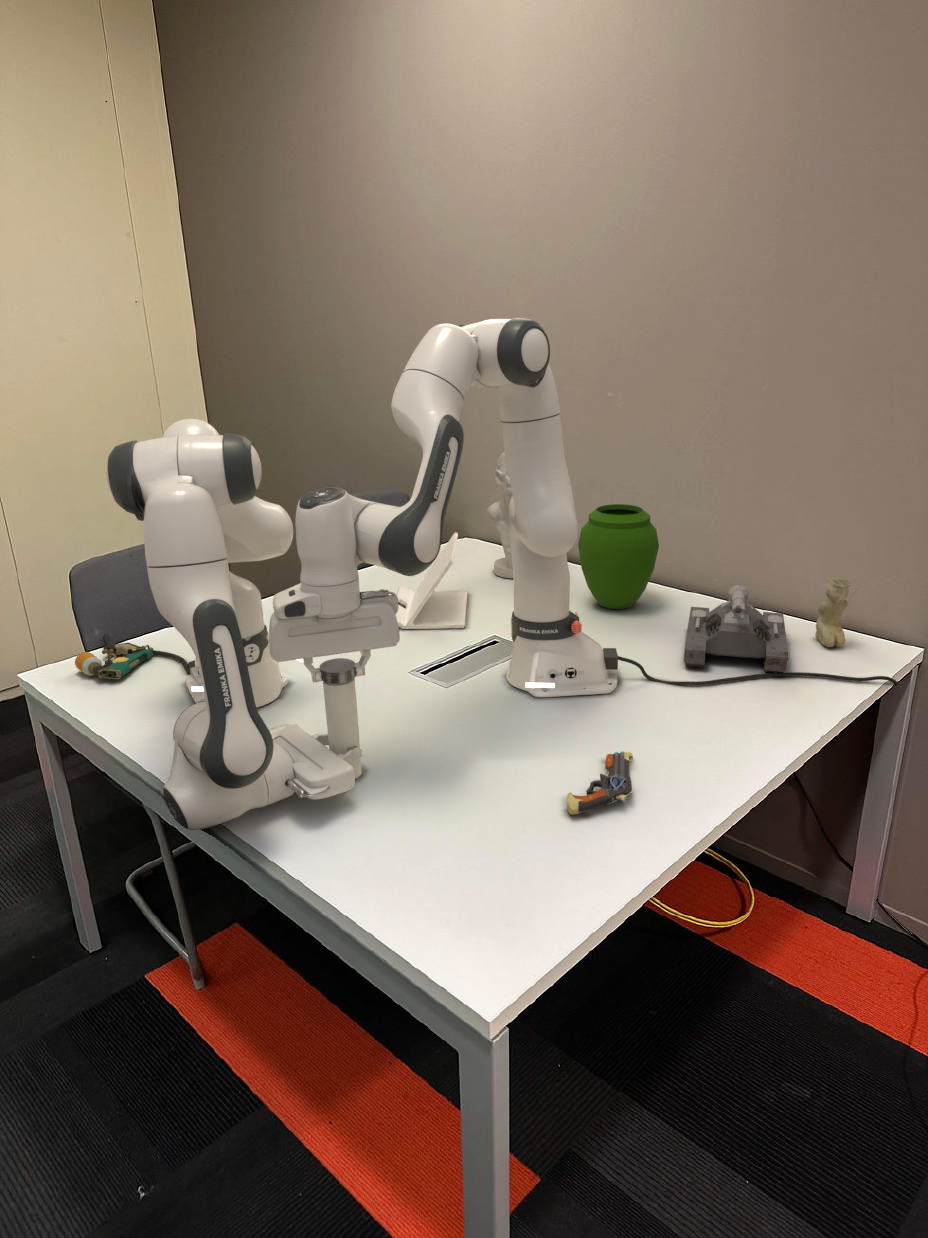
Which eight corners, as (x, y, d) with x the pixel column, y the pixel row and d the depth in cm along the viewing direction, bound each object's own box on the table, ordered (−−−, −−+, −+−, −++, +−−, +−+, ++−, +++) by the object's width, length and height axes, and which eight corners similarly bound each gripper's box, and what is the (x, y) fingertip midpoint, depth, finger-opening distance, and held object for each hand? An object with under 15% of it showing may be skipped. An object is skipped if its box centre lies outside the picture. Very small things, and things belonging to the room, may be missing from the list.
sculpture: (821, 649, 184) (830, 583, 179) (808, 637, 191) (816, 573, 185) (848, 649, 184) (858, 582, 179) (834, 636, 191) (843, 572, 185)
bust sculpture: (503, 593, 225) (502, 460, 212) (483, 567, 247) (480, 445, 234) (562, 587, 228) (563, 456, 215) (536, 562, 250) (536, 441, 237)
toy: (689, 626, 199) (693, 565, 193) (780, 633, 193) (787, 570, 188) (682, 670, 176) (687, 601, 171) (785, 679, 170) (794, 609, 165)
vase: (599, 587, 227) (601, 497, 218) (668, 600, 216) (673, 505, 208) (562, 608, 212) (564, 513, 204) (634, 623, 202) (639, 523, 193)
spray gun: (121, 650, 196) (171, 662, 191) (61, 674, 182) (113, 688, 176) (119, 633, 195) (170, 644, 189) (59, 656, 181) (111, 668, 175)
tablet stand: (467, 593, 225) (465, 531, 219) (465, 628, 202) (462, 559, 196) (399, 594, 226) (395, 532, 220) (388, 629, 203) (384, 560, 197)
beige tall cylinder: (339, 763, 145) (330, 661, 138) (366, 767, 143) (358, 664, 137) (326, 779, 140) (316, 674, 134) (354, 783, 139) (345, 677, 132)
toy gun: (564, 803, 127) (632, 801, 125) (572, 748, 145) (632, 746, 143) (566, 820, 128) (634, 818, 125) (574, 763, 145) (633, 761, 143)
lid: (334, 687, 132) (333, 675, 131) (313, 676, 136) (312, 665, 135) (363, 676, 135) (362, 664, 135) (342, 666, 139) (341, 655, 139)
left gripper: (302, 781, 124) (382, 750, 132) (242, 731, 139) (317, 706, 147) (306, 818, 126) (385, 785, 134) (246, 765, 141) (320, 738, 149)
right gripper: (393, 581, 136) (398, 661, 141) (262, 597, 131) (272, 678, 136) (401, 593, 131) (406, 676, 136) (265, 610, 125) (275, 695, 130)
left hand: (349, 743), depth 141 cm, fingers closed on beige tall cylinder, 5 cm apart
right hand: (338, 677), depth 136 cm, fingers closed on lid, 5 cm apart
